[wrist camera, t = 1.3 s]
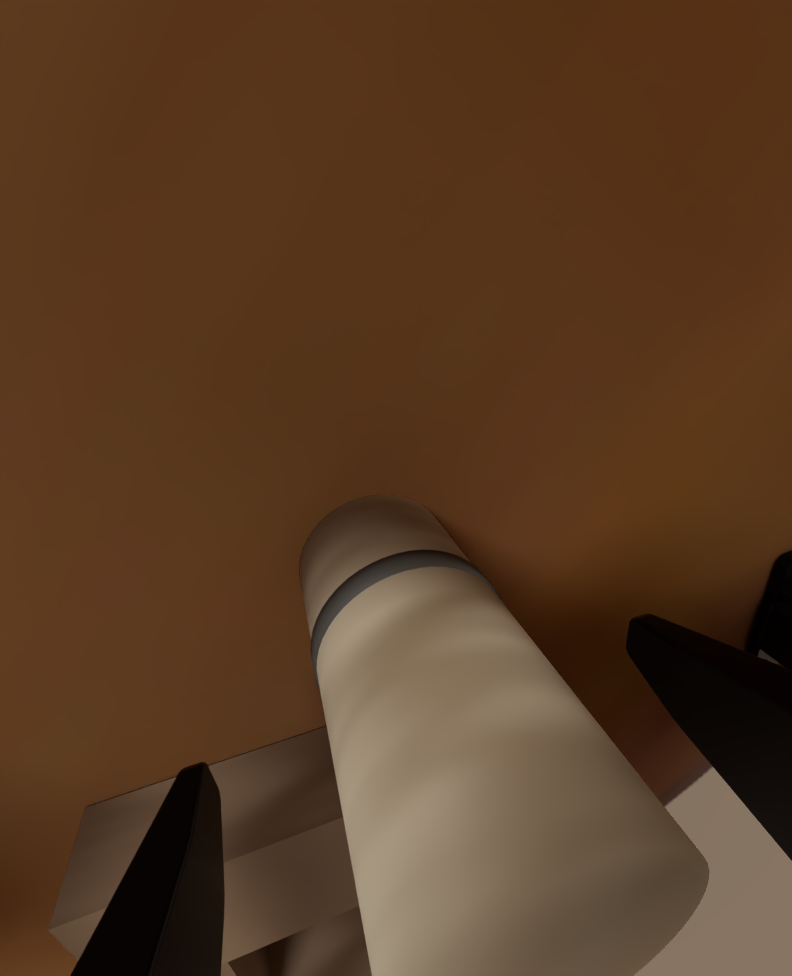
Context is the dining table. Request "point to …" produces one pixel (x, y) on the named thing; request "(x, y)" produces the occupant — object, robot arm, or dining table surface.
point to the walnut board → (243, 864)
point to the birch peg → (476, 771)
